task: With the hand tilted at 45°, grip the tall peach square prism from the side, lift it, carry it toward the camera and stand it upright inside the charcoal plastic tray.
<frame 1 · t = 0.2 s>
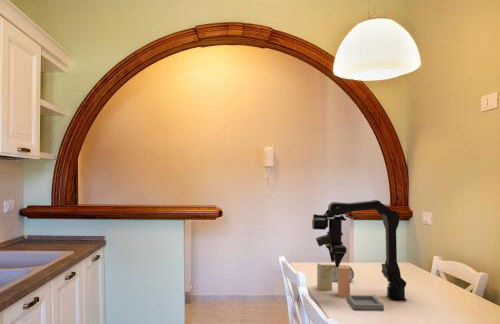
hand: (334, 264, 160), 15 cm above the table, tool pointing down, fingers open, 9 cm apart
peach square prism: (343, 295, 162), on the table
skincare box: (324, 289, 171), on the table
tray: (364, 305, 150), on the table
tin: (339, 282, 184), on the table
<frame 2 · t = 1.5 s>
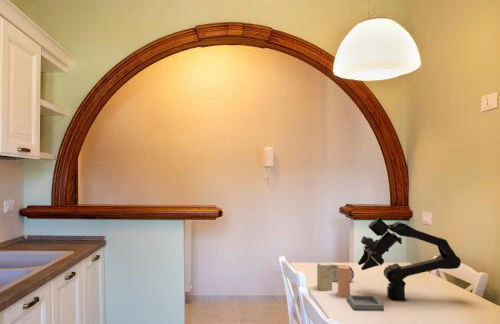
hand: (360, 266, 161), 13 cm above the table, tool tilted 45°, fingers open, 9 cm apart
nothing on the table moved.
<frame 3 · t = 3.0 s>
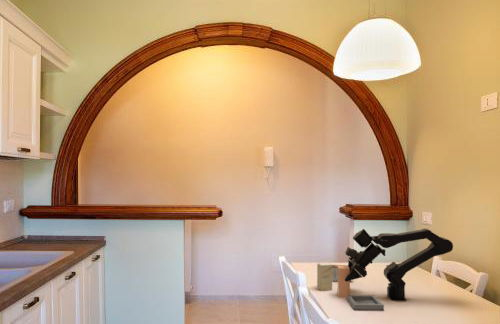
hand: (344, 277, 162), 8 cm above the table, tool tilted 45°, fingers open, 9 cm apart
nothing on the table moved.
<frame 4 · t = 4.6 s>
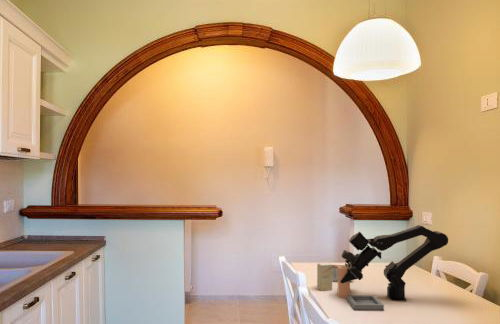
hand: (340, 280, 162), 7 cm above the table, tool tilted 45°, fingers closed on peach square prism, 5 cm apart
peach square prism: (343, 295, 162), on the table, touching gripper
everything else where it was.
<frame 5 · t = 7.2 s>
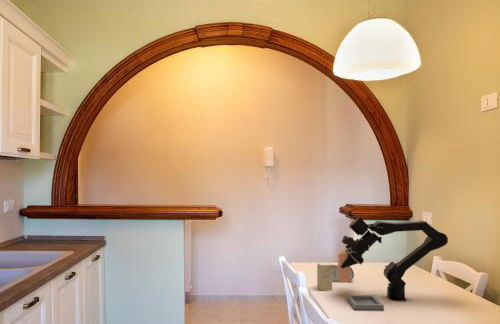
hand: (340, 266, 162), 13 cm above the table, tool tilted 45°, fingers closed on peach square prism, 5 cm apart
peach square prism: (344, 280, 162), point 7 cm above the table, touching gripper
everything else where it was.
when the fingers open (9 cm above the table, at t = 9.9 s): peach square prism drops 1 cm, resting on tray.
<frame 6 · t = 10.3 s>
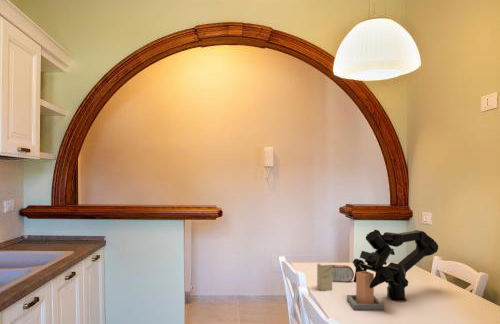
hand: (362, 284, 149), 9 cm above the table, tool tilted 45°, fingers open, 9 cm apart
peach square prism: (364, 303, 150), point 1 cm above the table, touching tray
everything else where it was.
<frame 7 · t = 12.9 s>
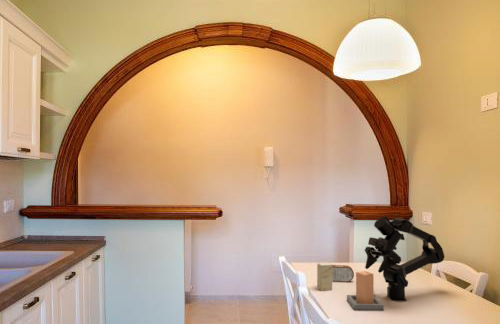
hand: (372, 270, 154), 14 cm above the table, tool tilted 40°, fingers open, 9 cm apart
nothing on the table moved.
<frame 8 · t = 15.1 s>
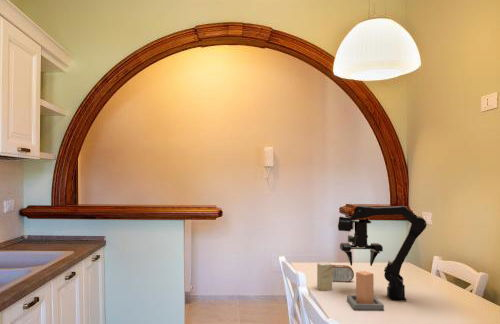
hand: (361, 265, 165), 13 cm above the table, tool pointing down, fingers open, 9 cm apart
nothing on the table moved.
at the end: peach square prism inside the target area on the tray (0.1 cm from its centre), point 0.6 cm above the tray's base; peach square prism tilted 0°; the gripper is holding nothing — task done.
